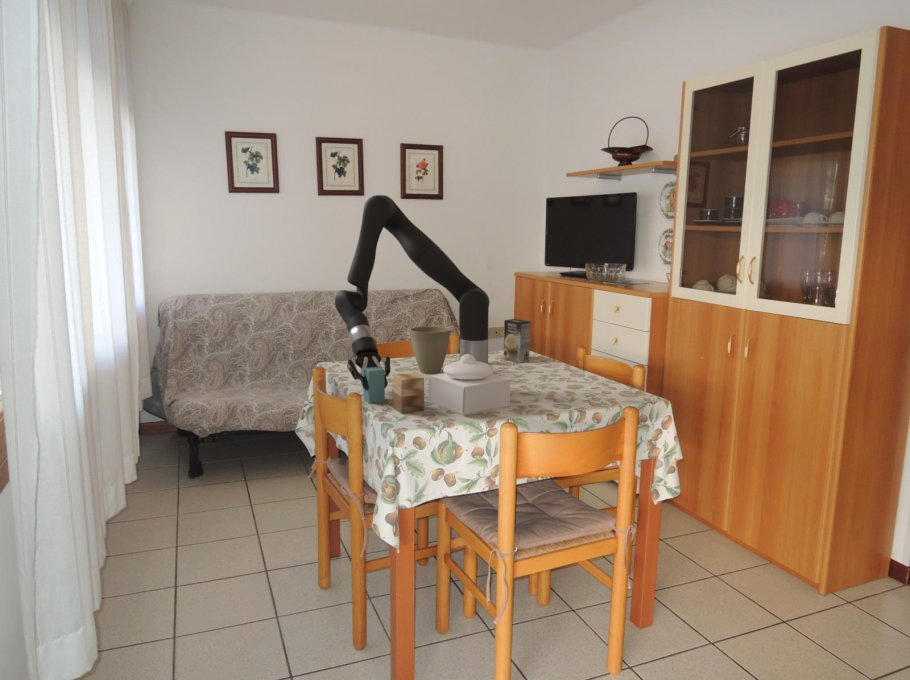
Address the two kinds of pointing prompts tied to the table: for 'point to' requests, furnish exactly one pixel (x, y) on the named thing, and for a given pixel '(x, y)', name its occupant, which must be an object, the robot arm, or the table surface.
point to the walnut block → (408, 403)
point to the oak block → (408, 384)
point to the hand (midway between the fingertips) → (376, 388)
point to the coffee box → (516, 340)
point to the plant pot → (430, 347)
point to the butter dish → (469, 387)
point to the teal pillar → (375, 385)
